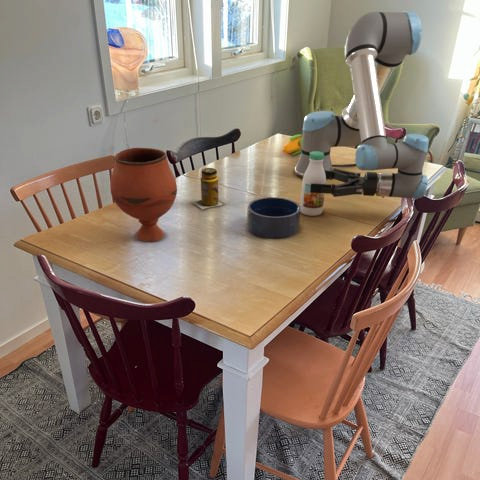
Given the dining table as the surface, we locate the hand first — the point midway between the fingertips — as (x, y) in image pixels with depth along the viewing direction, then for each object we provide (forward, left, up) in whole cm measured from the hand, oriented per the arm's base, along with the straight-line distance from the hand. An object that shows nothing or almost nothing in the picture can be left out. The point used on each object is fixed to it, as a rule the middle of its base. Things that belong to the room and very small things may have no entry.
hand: (310, 180), depth 158 cm
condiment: (+29, -20, -11) cm, 37 cm away
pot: (+17, +6, -11) cm, 21 cm away
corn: (-30, -61, -11) cm, 69 cm away
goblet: (+55, -3, -11) cm, 56 cm away
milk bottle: (-1, +1, -11) cm, 11 cm away
